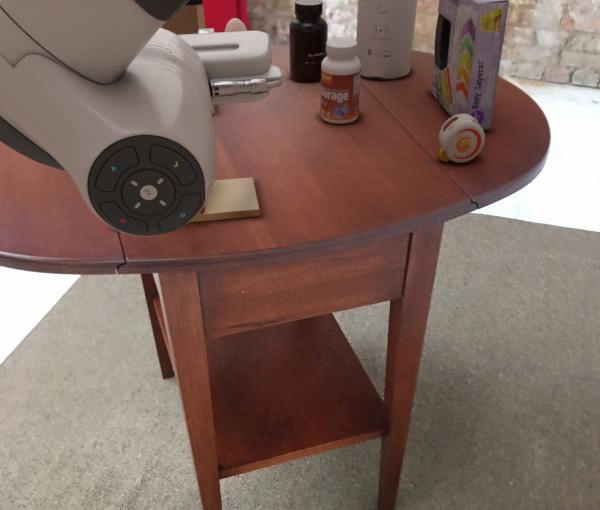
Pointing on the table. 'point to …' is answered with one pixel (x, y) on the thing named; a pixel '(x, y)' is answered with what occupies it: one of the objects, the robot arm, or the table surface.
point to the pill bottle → (340, 81)
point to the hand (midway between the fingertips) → (155, 40)
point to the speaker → (385, 37)
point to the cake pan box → (469, 56)
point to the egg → (235, 25)
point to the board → (230, 200)
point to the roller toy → (460, 139)
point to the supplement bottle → (307, 40)
